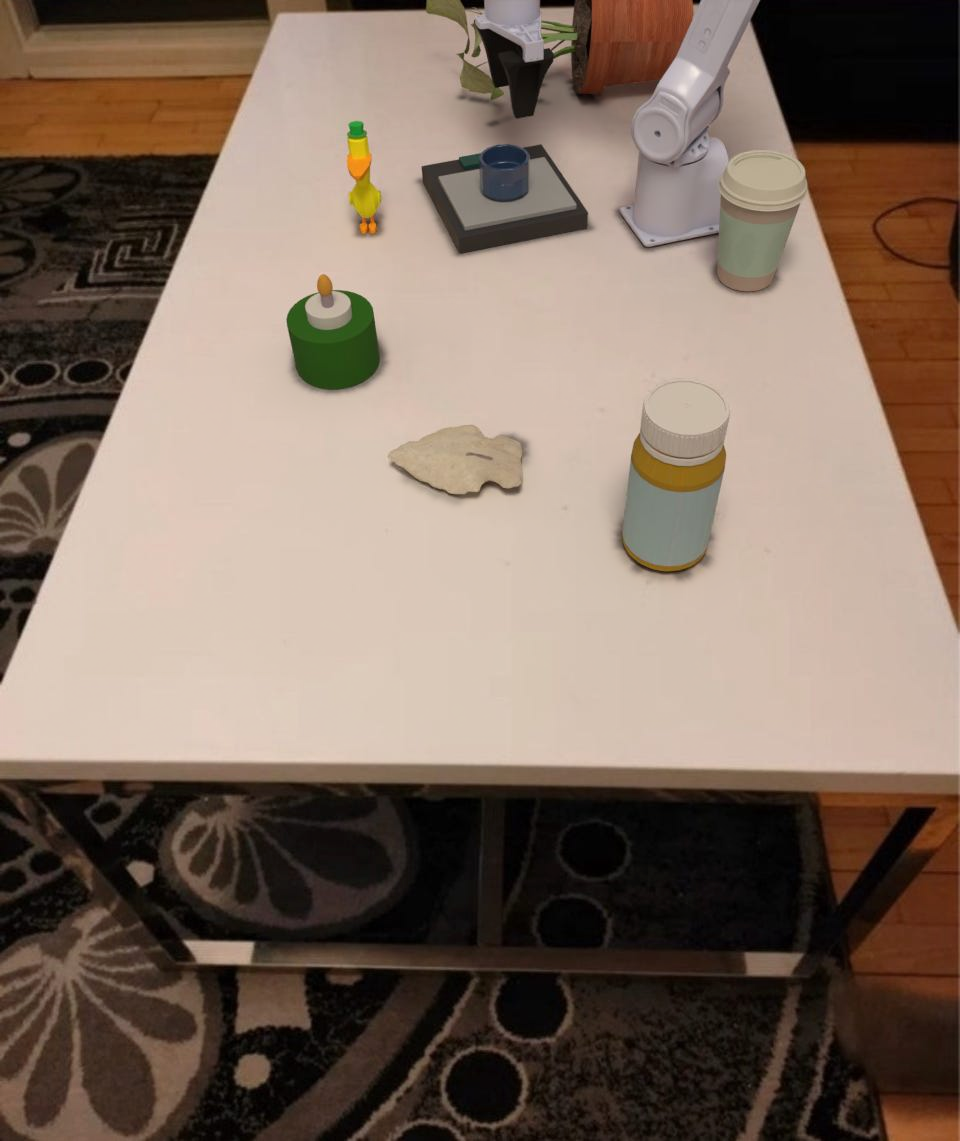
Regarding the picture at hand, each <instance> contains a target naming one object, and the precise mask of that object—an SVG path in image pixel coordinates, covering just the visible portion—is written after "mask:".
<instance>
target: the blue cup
mask: <svg viewBox="0 0 960 1141" xmlns="http://www.w3.org/2000/svg"><path fill="white" fill-rule="evenodd" d="M480 153H481V154H480V157H479V173H480V189H481V190H482V192H483V193H484V194H485V195H486V196H487V197H488V198H490V199H492V200H495V201H501V202H507V201H513V200H516V199H519V198H521V197H522V196H523V195H524V194H525V193H526V192H527V191H528V189H529V185H530V155H529V153H528V152H527V150H525V149H523V147H521V146H519V145H515V144H510V143H504V144H496V145H492V146H489V147H486V148H485V149H484V150H482V151H481V152H480Z"/></svg>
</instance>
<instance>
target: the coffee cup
mask: <svg viewBox="0 0 960 1141" xmlns="http://www.w3.org/2000/svg"><path fill="white" fill-rule="evenodd" d="M718 188H719V191H720V193H721V200H720V222H719V233H718V247H717V271H716V272H717V273H716V274H717V275H716V276H717V278H718V279H719V281H720V282H721V283H722V284H723V285H724V286H726V287H727V288H730V289H732V290H735V291H739V292H758V291H761V290H764V289H765V288H767V287H769V286H770V285H771V284H772V283H773V281H774V277H775V274H776V271H777V269H778V266H779V264H780V261H781V258H782V256H783V253H784V250H785V248H786V245H787V242H788V239H789V236H790V233H791V231H792V228H793V225H794V223H795V221H796V220H795V219H796V217H797V214H798V212H799V210H800V206H801V203H802V202H803V201H804V200H805V199H806V196H807V194H808V180H807V178H806V169H805V167H804V165H803V164H802V162H800V161H799V160H798V159H796V158H795V157H793V156H792V155H790V154H787V153H784V152H780V151H777V150H769V149H754V150H747V151H744V152H741V153H739V154H737V155H735V156H733V157H732V158H730V160H729V162H728V164H727V167H726V169H725V170H724V171H723V172H722V174H721V177H720V180H719V183H718Z"/></svg>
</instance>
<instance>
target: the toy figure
mask: <svg viewBox="0 0 960 1141" xmlns="http://www.w3.org/2000/svg"><path fill="white" fill-rule="evenodd" d="M364 124H365V123H364V122H363V121H360V120H355V121H350V122H349V123H348V128H349V131H348V132H347V133H346V136H347V137H346V140H347V147H348V154H347V156H346V166H347V167H346V168H347V170H348V173H349V176H350V177H351V178H352V179H353V180H354V181H355V182H356V183H355V185H354V186H353V188H352V190H350V191H349V192H348V202H349V206H350V207H351V206H352V207H353V208H354V210H355V212H356V213H357V214H359V216H360V217H361V223H360V224H359V232H360V234H361V235H366V234H367V233H368V232H369V233H370V235H375V234H376V233H377V231H378V228H377V224H376V222H375V217H374V215H375V214H376V212H377V210H378V209H379V206H380V205H381V203H382V193H381V190H380V189H379V190H378V188H376V186H375V185H374V184H373V183H372V182H371V167H372V166H371V165H372V157H373V156H372V155H373V154H372V153H371V152H370V146H369V138H368V132H367V130H365V129H364ZM366 219H370V222H369V223H368V222H367V221H366Z"/></svg>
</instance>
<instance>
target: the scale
mask: <svg viewBox="0 0 960 1141" xmlns="http://www.w3.org/2000/svg"><path fill="white" fill-rule="evenodd" d="M522 148H523V149H525V150H527V152H528V153H529V155H530V185H529V189H528V191H527V192H526V193H525V194H524V195H523V196H522V197H521V198H519V199H516V200H513V201H507V202H501V201H495V200H492V199H490V198H488V197H487V196H486V195H485V194H484V193H483V192H482V190H481V189H480V173H479V157H480V154H481V152H479V153H474V154H468V155H462V156H459V157H458V159H453V160H448V161H447V160H446V161H441V162H437V163H432V164H426V165H425V164H424V165H421V175H422V176H421V178H422V183H423V186H424V187H425V189H426V191H427V194H428V195H429V196H430V198H431V201H432V203H433V204H434V207H435V209H436V211H437V212H438V214H439V217H440V219H441V220H442V223H443V224H444V227H445V228H446V230H447V232H448V234H449V236H450V238H451V240H452V242H453V244H454V246H455V248H456V250H457V252H458V254H465V253H471V252H474V251H480V250H485V249H490V248H495V247H500V246H505V245H509V244H515V243H519V242H525V241H531V240H535V239H540V238H545V237H550V236H555V235H561V234H566V233H570V232H575V231H581V230H584V229H585V230H586V229H588V223H589V222H588V220H589V219H588V218H589V212H588V210H587V209H586V207H585V206H584V203H582V201H581V200H580V198H579V197H578V195H577V193H575V191H574V190H573V188H572V187H571V185H570V184H569V182H568V181H567V180H566V178H565V177H564V175H563V174H562V172H561V170H560V169H559V168H558V166H557V165H556V163H555V162H554V160H553V159H552V158H551V156H550V155H549V153H548V152H547V150H546V148H545V146H543V144H542V143H541V144H534V145H531V146H530V145H529V146H523V147H522Z"/></svg>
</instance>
